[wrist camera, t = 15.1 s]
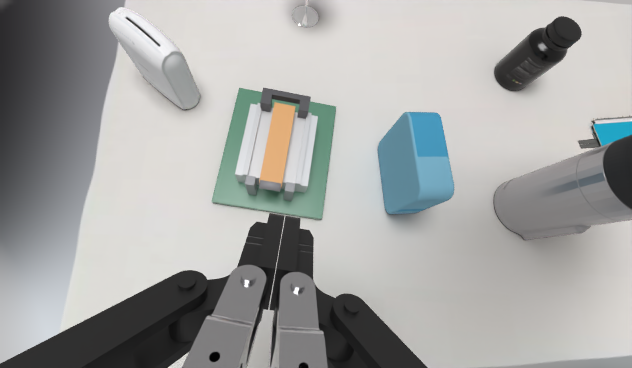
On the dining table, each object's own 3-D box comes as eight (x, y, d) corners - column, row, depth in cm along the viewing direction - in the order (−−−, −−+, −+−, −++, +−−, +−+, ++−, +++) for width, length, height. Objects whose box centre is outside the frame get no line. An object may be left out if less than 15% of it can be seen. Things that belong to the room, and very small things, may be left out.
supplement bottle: (531, 87, 57) (595, 42, 46) (503, 95, 56) (562, 50, 45) (515, 58, 59) (573, 7, 47) (487, 65, 57) (540, 14, 46)
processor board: (320, 219, 44) (328, 211, 38) (212, 203, 43) (202, 191, 36) (334, 109, 50) (344, 86, 44) (239, 91, 49) (234, 63, 42)
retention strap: (280, 190, 39) (295, 105, 42) (257, 186, 38) (274, 101, 42) (280, 192, 40) (295, 109, 43) (258, 189, 39) (274, 105, 43)
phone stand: (589, 179, 54) (599, 177, 52) (566, 121, 57) (574, 116, 55) (674, 170, 57) (685, 167, 56) (648, 115, 60) (658, 110, 59)
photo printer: (138, 75, 47) (92, 10, 35) (159, 59, 48) (122, -9, 36) (185, 115, 46) (155, 63, 34) (205, 98, 47) (183, 41, 36)
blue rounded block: (412, 214, 47) (457, 197, 35) (385, 215, 46) (422, 198, 35) (402, 144, 50) (439, 107, 39) (376, 144, 49) (407, 107, 38)
